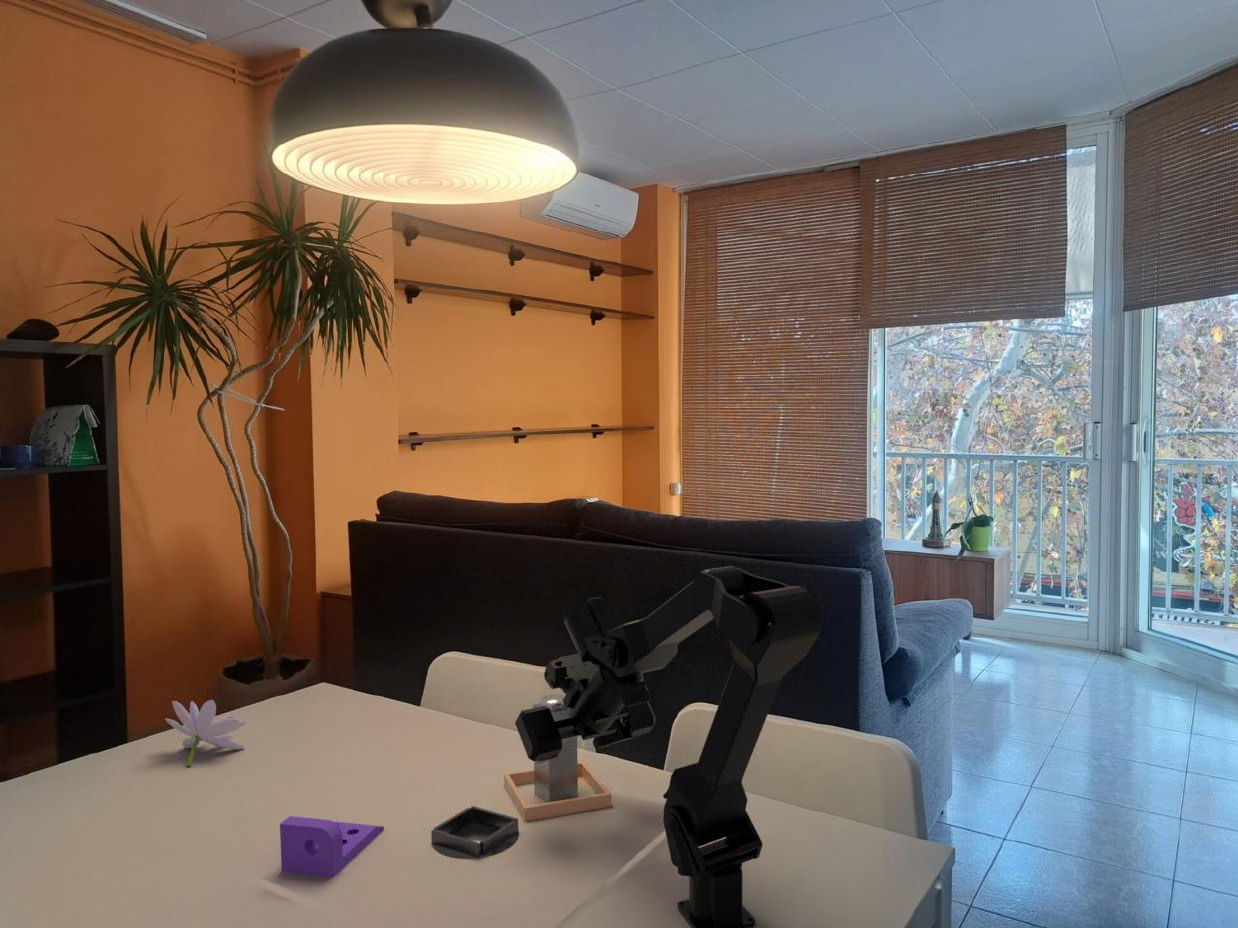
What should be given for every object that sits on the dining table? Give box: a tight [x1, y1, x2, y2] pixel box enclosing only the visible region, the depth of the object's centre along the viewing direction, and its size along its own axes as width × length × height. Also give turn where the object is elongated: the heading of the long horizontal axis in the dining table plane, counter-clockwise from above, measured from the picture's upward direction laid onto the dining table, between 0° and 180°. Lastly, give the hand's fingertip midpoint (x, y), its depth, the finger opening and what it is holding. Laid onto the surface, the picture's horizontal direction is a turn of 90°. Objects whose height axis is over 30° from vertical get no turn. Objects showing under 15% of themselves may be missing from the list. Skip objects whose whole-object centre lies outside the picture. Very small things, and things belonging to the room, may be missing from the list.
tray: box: [503, 760, 612, 822], centre depth 124 cm, size 12×12×2 cm
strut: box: [532, 693, 579, 803], centre depth 123 cm, size 4×4×14 cm
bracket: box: [279, 815, 385, 878], centre depth 109 cm, size 12×7×7 cm, turn 167°
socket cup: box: [430, 805, 520, 860], centre depth 112 cm, size 11×11×2 cm
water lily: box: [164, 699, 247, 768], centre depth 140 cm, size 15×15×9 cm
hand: (566, 752), depth 121 cm, fingers open, 9 cm apart
